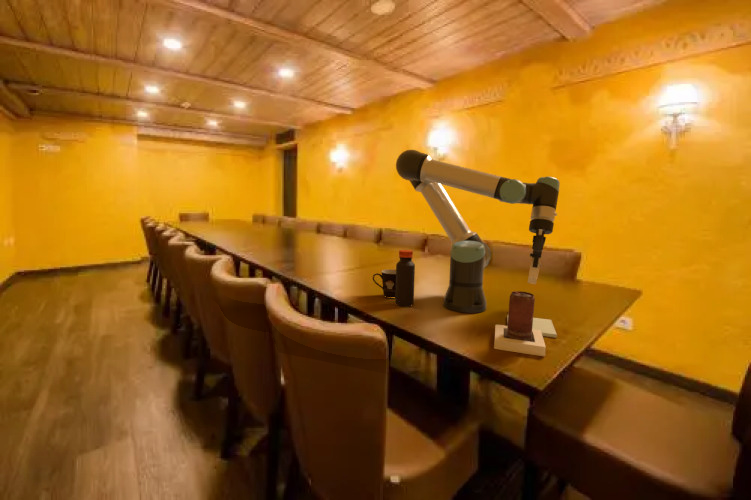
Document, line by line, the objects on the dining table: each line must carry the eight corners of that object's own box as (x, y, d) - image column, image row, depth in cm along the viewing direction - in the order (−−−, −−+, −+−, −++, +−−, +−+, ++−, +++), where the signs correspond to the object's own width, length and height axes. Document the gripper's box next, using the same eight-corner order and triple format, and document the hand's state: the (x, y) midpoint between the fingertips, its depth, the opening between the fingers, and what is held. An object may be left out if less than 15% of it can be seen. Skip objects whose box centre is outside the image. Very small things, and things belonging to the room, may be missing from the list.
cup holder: (494, 348, 89) (494, 339, 89) (495, 332, 100) (495, 324, 100) (544, 356, 85) (545, 347, 85) (540, 338, 96) (540, 330, 96)
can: (512, 337, 97) (516, 289, 95) (534, 344, 92) (539, 294, 90) (501, 342, 93) (504, 292, 91) (523, 350, 88) (528, 298, 86)
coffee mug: (406, 296, 137) (407, 271, 136) (393, 300, 131) (393, 275, 129) (384, 290, 145) (385, 267, 143) (370, 294, 138) (371, 270, 137)
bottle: (411, 308, 122) (413, 252, 119) (393, 305, 124) (394, 251, 121) (415, 302, 128) (417, 250, 125) (397, 300, 130) (399, 248, 128)
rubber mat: (507, 331, 102) (507, 327, 101) (507, 317, 114) (507, 314, 113) (556, 337, 97) (556, 334, 97) (550, 322, 109) (551, 319, 109)
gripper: (557, 210, 106) (547, 277, 103) (551, 231, 129) (542, 287, 126) (531, 208, 109) (520, 272, 107) (529, 229, 132) (520, 283, 129)
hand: (532, 280), depth 116 cm, fingers open, 13 cm apart
